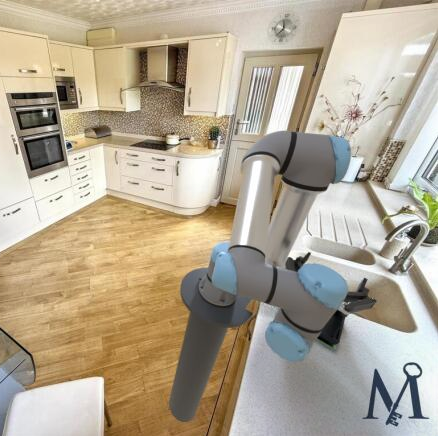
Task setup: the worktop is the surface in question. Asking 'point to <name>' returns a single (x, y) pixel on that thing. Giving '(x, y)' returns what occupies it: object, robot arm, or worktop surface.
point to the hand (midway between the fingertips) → (334, 267)
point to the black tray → (332, 331)
